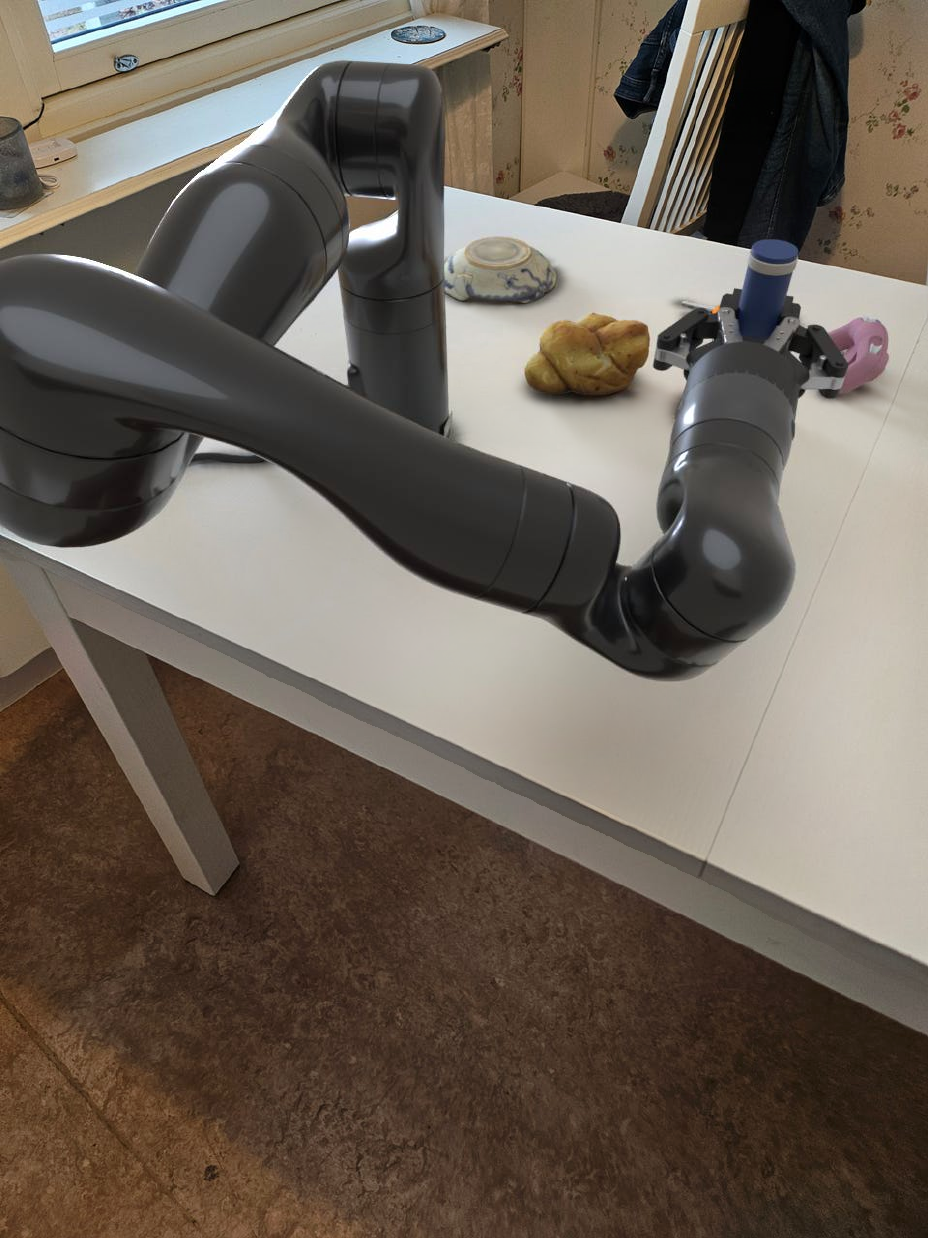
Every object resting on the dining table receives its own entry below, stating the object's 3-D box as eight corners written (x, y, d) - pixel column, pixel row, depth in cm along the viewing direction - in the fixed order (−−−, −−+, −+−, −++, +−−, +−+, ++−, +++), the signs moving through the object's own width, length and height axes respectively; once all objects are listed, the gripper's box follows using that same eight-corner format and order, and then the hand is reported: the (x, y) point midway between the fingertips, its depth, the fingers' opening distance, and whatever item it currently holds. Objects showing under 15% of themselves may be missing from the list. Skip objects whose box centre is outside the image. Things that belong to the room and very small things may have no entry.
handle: (717, 427, 71) (757, 259, 61) (708, 403, 74) (745, 238, 63) (758, 426, 71) (805, 258, 61) (748, 402, 74) (792, 237, 63)
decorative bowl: (414, 278, 112) (495, 319, 104) (413, 249, 109) (496, 289, 101) (498, 243, 119) (580, 279, 111) (499, 215, 116) (582, 250, 108)
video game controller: (851, 412, 93) (903, 363, 88) (817, 392, 92) (868, 341, 87) (843, 363, 99) (891, 315, 94) (811, 344, 99) (858, 294, 93)
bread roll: (529, 410, 91) (533, 341, 85) (515, 361, 98) (517, 293, 92) (649, 400, 92) (660, 331, 86) (626, 352, 99) (636, 285, 93)
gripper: (620, 452, 62) (664, 333, 72) (827, 491, 58) (840, 360, 69) (634, 357, 56) (679, 243, 67) (864, 395, 53) (871, 269, 64)
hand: (761, 303), depth 68 cm, fingers closed on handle, 3 cm apart
